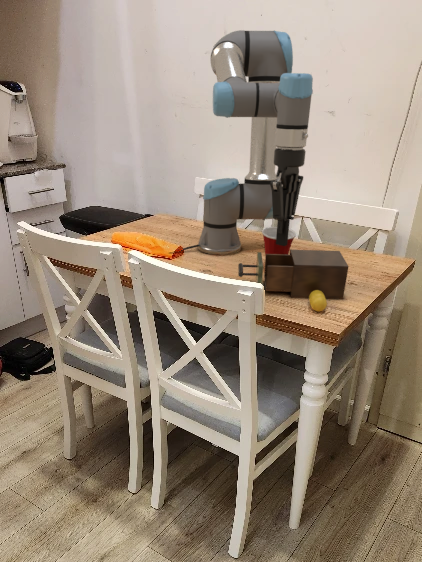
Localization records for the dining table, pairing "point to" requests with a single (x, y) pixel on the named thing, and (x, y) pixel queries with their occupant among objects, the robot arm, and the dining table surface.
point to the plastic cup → (270, 241)
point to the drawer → (272, 271)
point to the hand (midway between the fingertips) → (281, 244)
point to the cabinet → (318, 273)
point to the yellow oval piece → (317, 300)
